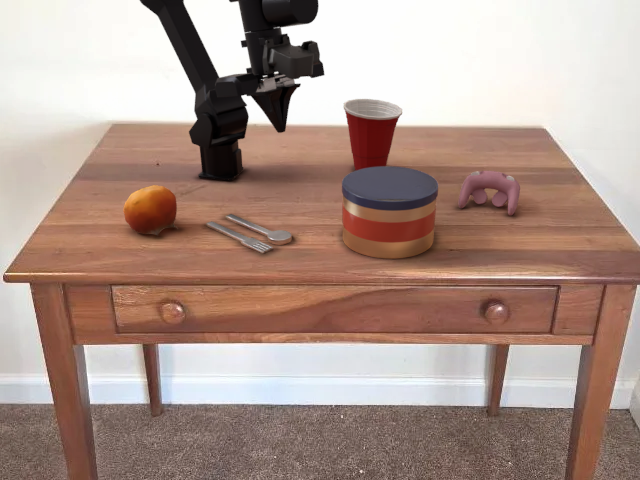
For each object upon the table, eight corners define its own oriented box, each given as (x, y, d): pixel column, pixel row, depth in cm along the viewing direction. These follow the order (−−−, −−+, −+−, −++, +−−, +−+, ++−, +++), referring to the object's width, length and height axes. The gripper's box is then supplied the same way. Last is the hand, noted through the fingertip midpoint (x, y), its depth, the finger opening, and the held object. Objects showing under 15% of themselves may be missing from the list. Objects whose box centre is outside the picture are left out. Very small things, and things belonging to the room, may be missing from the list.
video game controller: (516, 217, 126) (524, 176, 125) (514, 215, 122) (522, 172, 121) (459, 209, 129) (466, 168, 128) (455, 207, 124) (462, 164, 123)
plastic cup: (394, 182, 135) (398, 116, 128) (336, 177, 136) (336, 111, 130) (403, 162, 144) (407, 99, 137) (349, 157, 145) (349, 95, 139)
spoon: (219, 220, 119) (219, 216, 119) (237, 214, 122) (236, 209, 121) (279, 247, 112) (278, 242, 111) (296, 239, 114) (296, 234, 114)
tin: (331, 252, 110) (331, 195, 105) (353, 215, 122) (353, 162, 117) (426, 264, 108) (431, 206, 103) (439, 224, 120) (444, 170, 115)
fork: (203, 227, 117) (203, 224, 117) (214, 222, 119) (214, 220, 118) (262, 254, 110) (262, 250, 109) (273, 249, 111) (273, 246, 111)
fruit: (161, 238, 110) (135, 188, 108) (133, 251, 115) (107, 204, 113) (199, 219, 116) (174, 172, 114) (170, 233, 121) (146, 188, 119)
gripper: (250, 34, 104) (271, 146, 110) (340, 17, 116) (355, 119, 122) (202, 40, 111) (225, 145, 117) (292, 24, 123) (308, 120, 129)
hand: (281, 132), depth 121 cm, fingers closed
